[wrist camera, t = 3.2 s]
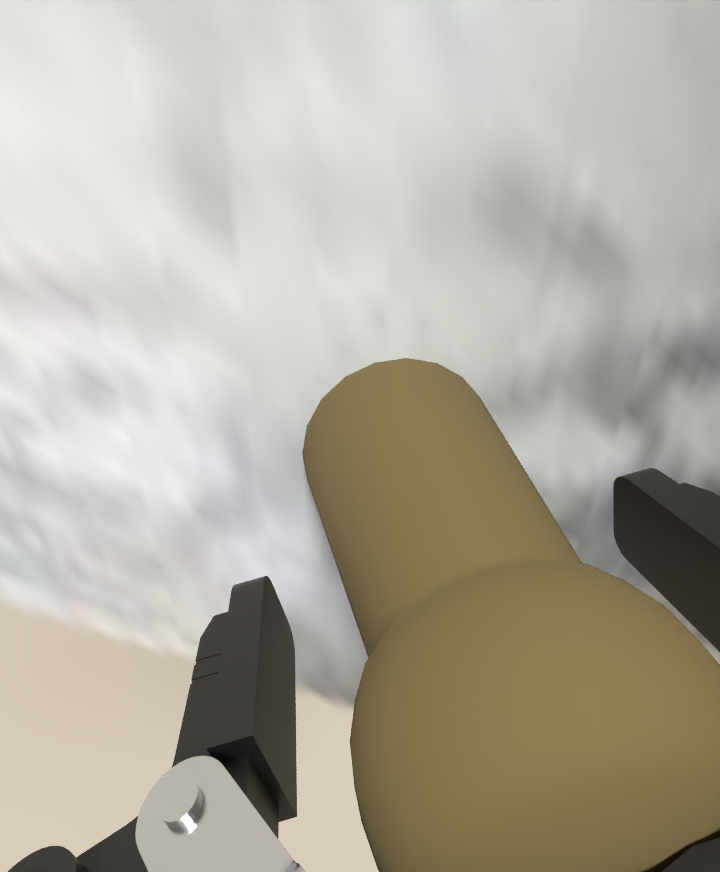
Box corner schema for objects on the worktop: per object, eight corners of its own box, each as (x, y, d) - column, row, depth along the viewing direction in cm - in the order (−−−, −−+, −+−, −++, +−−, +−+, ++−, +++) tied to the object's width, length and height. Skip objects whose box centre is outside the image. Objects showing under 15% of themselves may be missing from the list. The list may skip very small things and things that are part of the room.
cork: (520, 466, 16) (908, 881, 6) (370, 559, 17) (492, 1064, 7) (433, 316, 13) (855, 600, 3) (261, 434, 14) (196, 947, 4)
